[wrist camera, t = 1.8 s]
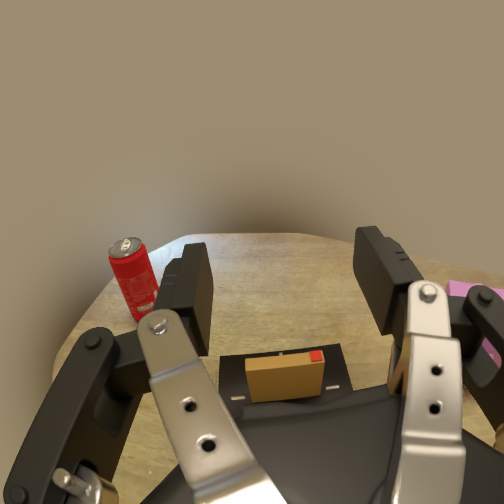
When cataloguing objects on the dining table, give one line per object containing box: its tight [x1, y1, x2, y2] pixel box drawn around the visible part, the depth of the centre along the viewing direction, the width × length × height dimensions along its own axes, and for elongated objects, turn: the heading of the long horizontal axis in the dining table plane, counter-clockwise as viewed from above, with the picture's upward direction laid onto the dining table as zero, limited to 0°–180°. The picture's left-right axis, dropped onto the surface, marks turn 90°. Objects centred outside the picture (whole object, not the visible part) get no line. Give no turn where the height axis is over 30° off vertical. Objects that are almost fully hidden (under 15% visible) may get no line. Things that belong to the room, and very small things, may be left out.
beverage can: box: [108, 237, 159, 322], centre depth 42 cm, size 5×5×12 cm
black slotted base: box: [219, 343, 353, 418], centre depth 31 cm, size 14×12×2 cm
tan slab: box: [245, 350, 325, 403], centre depth 28 cm, size 7×1×6 cm, turn 92°
